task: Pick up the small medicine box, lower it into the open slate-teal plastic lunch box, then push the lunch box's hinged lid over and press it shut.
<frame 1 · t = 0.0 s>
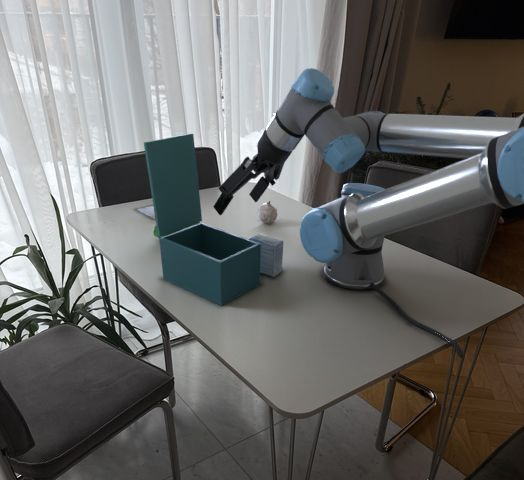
hand: (235, 204, 119), 15 cm above the table, tool tilted 35°, fingers open, 13 cm apart
architectural model: (164, 210, 158), on the table
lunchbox: (211, 281, 117), on the table
medicine box: (265, 271, 123), on the table
lunchbox lid: (175, 185, 110), point 21 cm above the table, hinge at 95.0°
snack package: (180, 238, 139), on the table
garlic bulb: (267, 222, 152), on the table
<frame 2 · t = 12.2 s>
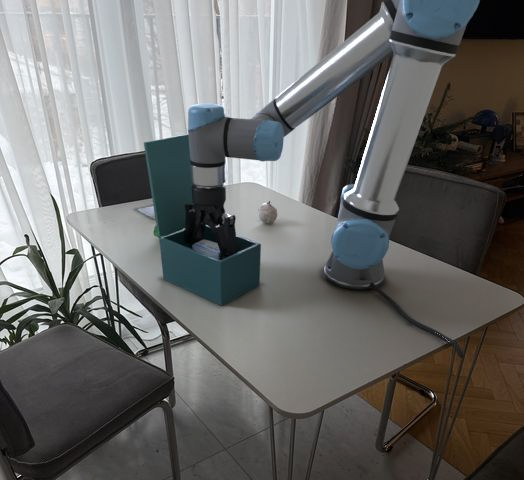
hand: (211, 277, 116), 1 cm above the table, tool pointing down, fingers closed on medicine box, 8 cm apart
medicine box: (211, 278, 117), point 1 cm above the table, touching gripper
everything else where it was.
when the fingers open (2 cm above the table, at t = 14.4 s): medicine box stays where it is, resting on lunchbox.
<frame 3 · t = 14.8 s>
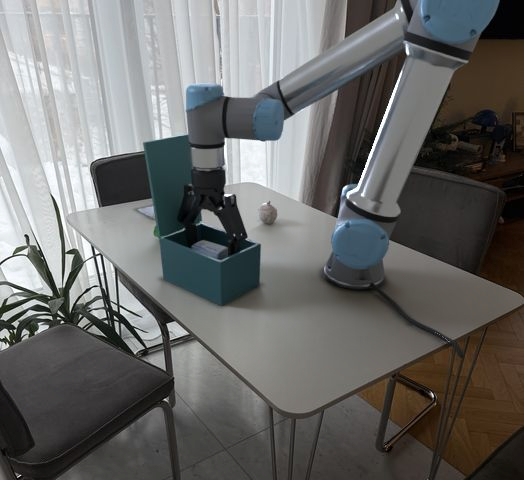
hand: (212, 258, 113), 6 cm above the table, tool pointing down, fingers open, 13 cm apart
medicine box: (211, 279, 117), point 1 cm above the table, touching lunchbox
lunchbox lid: (175, 185, 110), point 21 cm above the table, hinge at 95.7°
everything else where it was.
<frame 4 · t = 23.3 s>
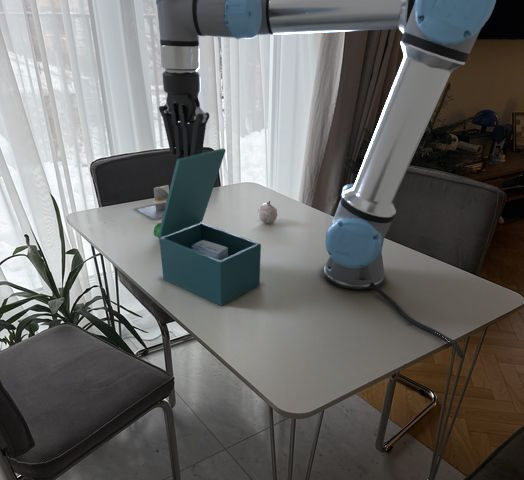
hand: (188, 189, 108), 21 cm above the table, tool pointing down, fingers closed
lunchbox lid: (191, 193, 108), point 21 cm above the table, hinge at 65.8°
everything else where it was.
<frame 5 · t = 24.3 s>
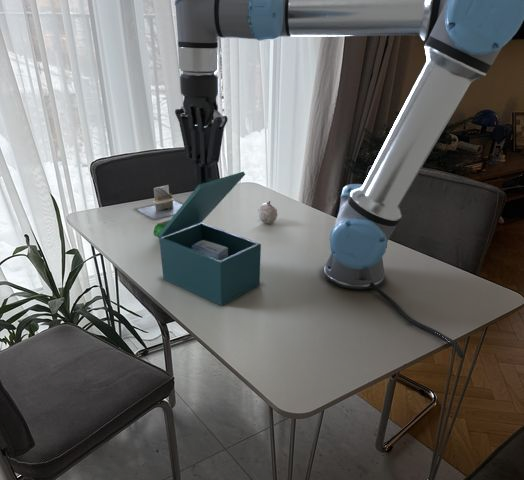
hand: (203, 194, 106), 21 cm above the table, tool pointing down, fingers closed
lunchbox lid: (200, 205, 108), point 19 cm above the table, hinge at 45.8°, touching gripper
everything else where it was.
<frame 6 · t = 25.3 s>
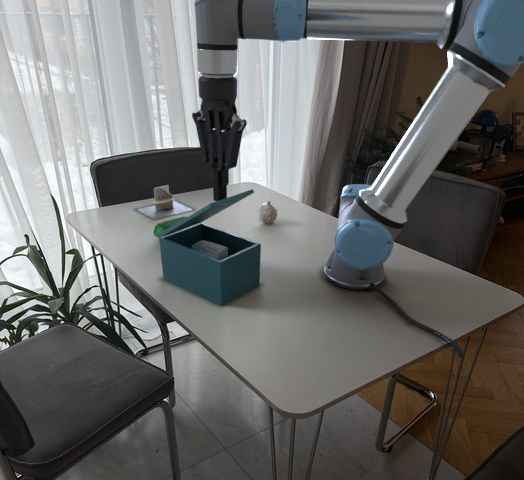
hand: (220, 199, 103), 21 cm above the table, tool pointing down, fingers closed
lunchbox lid: (205, 214, 108), point 17 cm above the table, hinge at 33.7°, touching gripper
everything else where it was.
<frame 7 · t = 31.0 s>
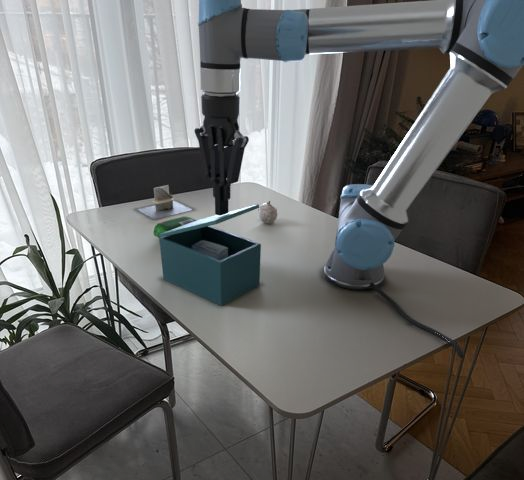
hand: (221, 213, 104), 18 cm above the table, tool pointing down, fingers closed
lunchbox lid: (207, 221, 108), point 15 cm above the table, hinge at 24.0°, touching gripper
everything else where it was.
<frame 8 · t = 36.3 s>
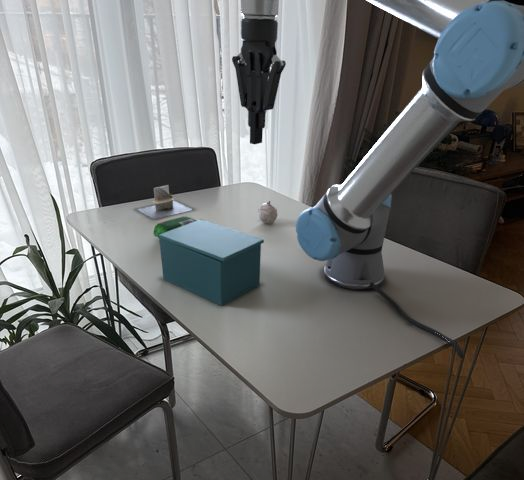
hand: (256, 142, 109), 30 cm above the table, tool pointing down, fingers closed
lunchbox lid: (211, 238, 110), point 11 cm above the table, hinge at 1.2°
everything else where it was.
at the end: medicine box inside the target area in the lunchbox (0.1 cm from its centre), point 0.6 cm above the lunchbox's base; lunchbox lid at +1° (first picture: +95°) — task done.
